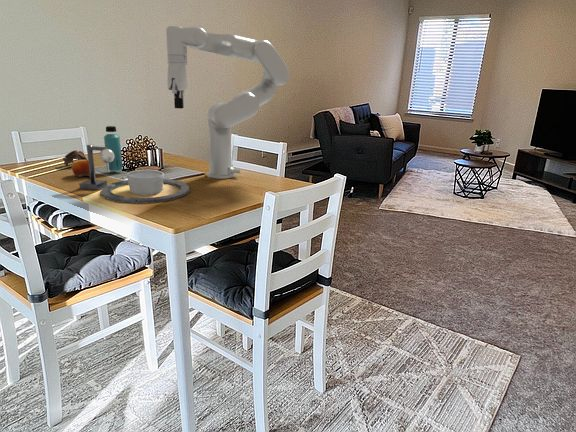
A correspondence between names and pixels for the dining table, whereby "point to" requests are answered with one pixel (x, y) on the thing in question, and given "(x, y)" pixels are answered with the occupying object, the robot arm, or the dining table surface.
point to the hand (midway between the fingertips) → (179, 108)
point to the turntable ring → (109, 195)
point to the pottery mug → (73, 157)
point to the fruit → (81, 168)
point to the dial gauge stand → (92, 183)
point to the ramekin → (145, 181)
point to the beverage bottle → (113, 148)
